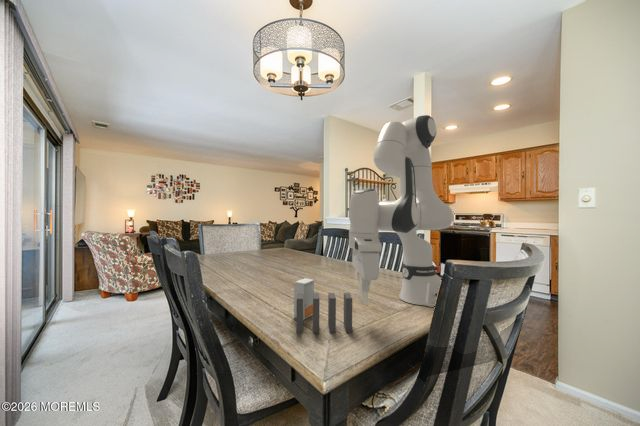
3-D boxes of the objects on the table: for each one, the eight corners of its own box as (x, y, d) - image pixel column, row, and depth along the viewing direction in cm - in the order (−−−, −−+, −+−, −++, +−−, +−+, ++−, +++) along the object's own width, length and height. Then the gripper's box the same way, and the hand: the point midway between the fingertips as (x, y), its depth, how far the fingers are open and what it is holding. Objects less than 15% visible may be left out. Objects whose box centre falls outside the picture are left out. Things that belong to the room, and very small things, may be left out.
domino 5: (364, 298, 79) (364, 266, 79) (368, 304, 74) (368, 270, 74) (358, 299, 79) (358, 266, 79) (361, 304, 74) (362, 270, 74)
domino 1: (303, 325, 79) (303, 293, 79) (302, 333, 74) (302, 298, 74) (297, 325, 79) (297, 293, 78) (296, 333, 74) (296, 298, 74)
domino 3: (334, 325, 79) (334, 292, 79) (335, 332, 74) (335, 298, 74) (328, 325, 79) (328, 293, 79) (329, 332, 74) (329, 298, 74)
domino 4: (349, 324, 79) (349, 292, 79) (352, 332, 74) (352, 298, 74) (343, 325, 79) (343, 292, 79) (345, 332, 74) (346, 298, 74)
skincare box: (303, 320, 82) (304, 283, 82) (293, 317, 84) (293, 281, 84) (314, 314, 87) (314, 279, 87) (304, 311, 89) (304, 277, 89)
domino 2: (318, 325, 79) (318, 293, 79) (319, 333, 74) (319, 298, 74) (312, 325, 79) (312, 293, 79) (313, 333, 74) (313, 298, 74)
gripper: (348, 238, 87) (347, 279, 87) (359, 246, 67) (359, 299, 67) (366, 238, 87) (366, 279, 87) (383, 246, 67) (383, 298, 67)
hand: (363, 287), depth 77 cm, fingers closed on domino 5, 5 cm apart
